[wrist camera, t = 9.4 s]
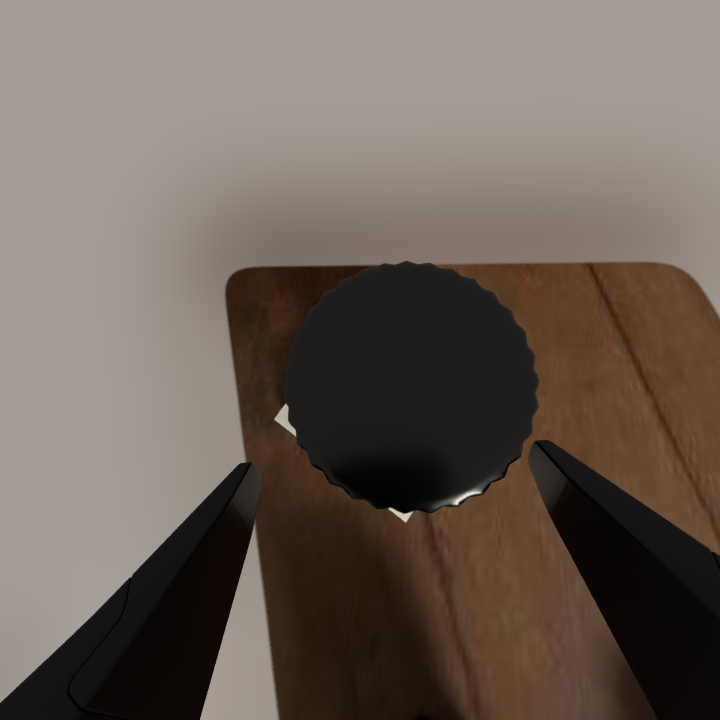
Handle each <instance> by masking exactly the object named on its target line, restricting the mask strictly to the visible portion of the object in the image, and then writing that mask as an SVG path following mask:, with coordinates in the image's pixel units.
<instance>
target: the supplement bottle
mask: <svg viewBox="0 0 720 720" xmlns="http://www.w3.org/2000/svg"><path fill="white" fill-rule="evenodd" d="M526 340H527V337H526V332H525V331H524V330H523V329H522V328H521V327H520V326H519V325H518V324H517V323H516V322H515V320H514V316H513V313H512V311H511V310H510V309H508V308H507V307H505V306H504V305H502V304H500V302H499V300H498V298H497V297H496V295H495V294H494V293H493V292H491V291H489V290H486V289H483V288H482V287H481V286H480V285H479V283H478V282H477V281H476V280H475V279H473V278H469V277H464V276H461V275H460V274H458V272H456V271H455V270H454V269H449V268H439V267H437V266H435V265H433V264H431V263H424V264H415V263H412V262H408V261H405V262H402V263H399V264H396V265H392V264H385V263H384V264H382V265H380V266H378V267H376V268H375V269H364V270H361V271H360V272H358V273H357V274H356V275H355V276H354V277H351V278H346V279H342V280H341V281H340V282H339V283H338V284H337V286H336V287H335V288H334V289H332V290H329V291H327V292H325V293H323V295H322V297H321V298H320V300H319V303H318V304H316V305H315V306H313V307H311V308H310V309H309V310H308V312H307V315H306V318H305V321H304V322H303V323H302V324H300V326H299V327H298V328H297V329H296V334H295V341H294V343H293V344H292V345H291V346H290V348H289V349H288V360H289V362H288V365H287V366H286V368H285V371H284V378H285V382H286V389H285V391H284V396H283V398H284V400H285V402H286V404H287V406H288V408H289V409H288V422H289V423H290V425H291V426H292V427H293V428H294V429H295V430H296V438H297V443H298V445H299V446H300V447H301V448H303V449H304V450H306V451H307V453H308V456H309V459H310V462H311V464H312V466H314V467H315V468H317V469H320V470H321V471H323V472H324V474H325V476H326V478H327V480H328V481H329V483H330V484H332V485H335V486H338V487H341V488H343V489H344V490H345V491H346V493H347V494H348V495H349V496H350V497H351V498H352V499H357V500H366V501H367V502H368V503H370V504H371V505H372V506H374V507H375V508H376V509H386V508H392V509H394V510H396V511H398V512H400V513H403V514H406V513H410V512H412V511H415V510H420V511H423V512H428V513H433V512H435V511H437V510H438V509H440V508H441V507H443V506H447V507H459V506H460V505H461V504H462V503H463V502H464V501H465V500H466V499H467V498H468V497H474V496H479V495H483V494H484V493H485V491H486V490H487V489H488V487H489V486H490V484H491V483H493V482H495V481H498V480H500V479H502V478H504V477H505V475H506V473H507V469H508V467H509V465H510V464H511V463H513V462H514V461H516V460H517V459H518V458H520V457H521V454H522V446H523V442H524V441H525V440H526V439H527V438H528V437H529V436H530V435H531V434H532V432H533V425H532V418H533V416H534V415H535V413H536V411H537V409H538V407H539V406H538V400H537V397H536V390H537V388H538V384H539V378H538V376H537V374H536V372H535V370H534V363H535V354H534V353H533V351H532V350H531V349H530V348H529V346H528V345H527V341H526Z"/></svg>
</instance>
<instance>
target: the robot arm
mask: <svg viewBox="0 0 720 720" xmlns="http://www.w3.org/2000/svg"><path fill="white" fill-rule="evenodd" d="M528 464H529V467H530V469H531V472H532V474H533V477H534V479H535V482H536V484H537V487H538V489H539V491H540V494H541V496H542V499H543V501H544V504H545V506H546V508H547V511H548V513H549V515H550V517H551V519H552V521H553V523H554V525H555V527H556V529H557V531H558V532H559V534H560V536H561V538H562V540H563V542H564V544H565V546H566V548H567V549H568V551H569V553H570V555H571V557H572V559H573V561H574V563H575V564H576V566H577V568H578V570H579V572H580V574H581V576H582V578H583V580H584V581H585V583H586V585H587V587H588V589H589V591H590V593H591V595H592V596H593V598H594V600H595V602H596V604H597V606H598V608H599V610H600V611H601V613H602V615H603V617H604V619H605V621H606V623H607V625H608V627H609V628H610V630H611V632H612V634H613V636H614V638H615V640H616V642H617V643H618V645H619V647H620V649H621V651H622V653H623V655H624V657H625V659H626V660H627V662H628V664H629V666H630V668H631V670H632V672H633V674H634V675H635V677H636V679H637V681H638V683H639V685H640V687H641V689H642V690H643V692H644V694H645V696H646V698H647V700H648V702H649V704H650V706H651V707H652V709H653V711H654V713H655V715H656V717H657V719H658V720H720V555H718V554H717V553H715V552H711V550H710V549H709V548H708V547H706V546H705V545H703V544H702V543H700V542H699V541H697V540H696V539H694V538H693V537H691V536H690V535H689V534H687V533H686V532H684V531H683V530H681V529H680V528H678V527H677V526H675V525H674V524H672V523H671V522H669V521H668V520H666V519H665V518H663V517H662V516H660V515H659V514H658V513H656V512H655V511H653V510H652V509H650V508H649V507H647V506H646V505H644V504H643V503H641V502H640V501H638V500H637V499H635V498H634V497H632V496H631V495H629V494H628V493H626V492H625V491H624V490H622V489H621V488H619V487H618V486H616V485H615V484H613V483H612V482H610V481H609V480H607V479H606V478H604V477H603V476H601V475H600V474H598V473H597V472H595V471H594V470H593V469H591V468H590V467H588V466H587V465H585V464H584V463H582V462H581V461H579V460H578V459H576V458H575V457H573V456H572V455H570V454H569V453H567V452H566V451H564V450H563V449H562V448H560V447H559V446H557V445H556V444H554V443H553V442H551V441H549V440H538V441H534V442H533V443H532V446H531V449H530V452H529V455H528ZM260 488H261V476H260V474H259V472H258V470H257V468H256V467H255V465H254V463H252V462H247V463H241V464H239V465H238V466H237V467H236V468H235V469H234V470H233V471H232V472H231V473H230V474H229V475H228V476H227V477H226V478H225V479H224V480H223V481H222V482H221V483H220V484H219V485H218V486H217V487H216V489H215V490H214V491H213V492H212V493H211V494H210V495H209V496H208V497H207V498H206V499H205V500H204V501H203V502H202V503H201V504H200V505H199V506H198V507H197V508H196V509H195V510H194V511H193V513H191V514H190V516H189V517H188V518H187V519H186V520H185V521H184V522H183V523H182V524H181V525H180V526H179V527H178V528H177V529H176V530H175V531H174V532H173V533H172V534H171V536H169V537H168V538H167V539H166V541H164V543H163V544H162V545H161V546H160V547H159V548H158V549H157V550H156V551H155V552H154V553H153V554H152V555H151V556H150V557H149V558H148V559H147V560H146V561H145V563H143V564H142V565H141V566H140V567H139V569H138V570H137V571H136V572H135V573H134V574H133V575H132V578H129V579H128V580H127V581H126V582H125V583H124V584H123V585H122V586H121V587H120V588H119V589H118V590H117V591H116V592H115V594H113V595H112V596H111V597H110V598H109V599H108V601H106V603H104V605H102V607H101V608H100V609H98V611H97V612H96V613H95V614H94V615H93V616H92V617H91V618H90V619H88V621H86V622H85V623H84V624H83V625H82V626H81V627H80V628H79V629H78V630H77V631H76V632H75V633H74V634H73V635H72V636H71V637H70V638H69V639H68V640H67V641H66V642H65V643H64V644H63V645H61V646H60V647H59V648H58V649H57V650H56V651H55V652H54V653H53V654H52V655H51V656H50V657H49V658H48V659H47V660H45V661H44V662H43V663H42V664H41V665H40V666H39V667H38V668H37V669H36V670H35V671H34V672H33V673H32V674H31V675H30V676H29V677H27V678H26V679H25V680H24V681H23V682H22V683H21V684H20V685H19V686H18V687H17V688H16V689H15V690H14V691H13V692H11V693H10V694H9V695H8V696H7V697H6V698H5V699H4V700H3V701H2V702H1V703H0V720H200V717H201V713H202V710H203V706H204V702H205V699H206V695H207V692H208V689H209V685H210V682H211V678H212V674H213V671H214V667H215V664H216V660H217V657H218V653H219V650H220V646H221V642H222V639H223V635H224V632H225V628H226V625H227V621H228V618H229V614H230V610H231V607H232V603H233V600H234V596H235V593H236V589H237V585H238V582H239V578H240V575H241V571H242V568H243V564H244V561H245V557H246V554H247V550H248V546H249V543H250V539H251V535H252V532H253V527H254V522H255V516H256V510H257V505H258V499H259V494H260ZM415 720H427V719H426V718H425V717H423V716H419V717H417V718H416V719H415Z"/></svg>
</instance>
